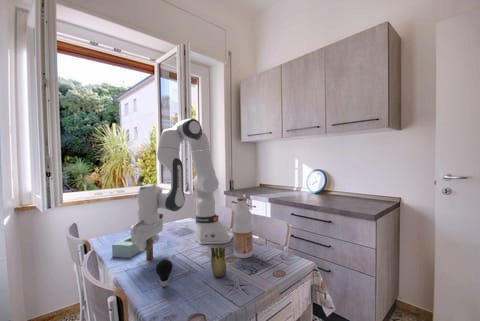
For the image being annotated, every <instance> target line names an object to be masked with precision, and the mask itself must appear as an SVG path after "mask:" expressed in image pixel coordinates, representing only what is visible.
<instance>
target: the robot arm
mask: <svg viewBox="0 0 480 321" xmlns="http://www.w3.org/2000/svg"><path fill="white" fill-rule="evenodd" d="M207 136H208V135H207V134H206V133H205V132H203V129H202V125H201V123H200V122H199V120H197V119H195V118H187V119H184V120H181V121H178V122H176V123H175V124H172V126H171V127H170V128H165V129H164V130H163V131H162V132H161V134H160V137H159V141H158V146H157V154H156V155H157V156H156V157H157V161H158V162H159V163H160V164H161V165H162V166H163V167H166V168H167V169H168V171H169V172H170V189H165V188H162V187H159V186H157V185H156V184H154V183H149V184H144V185H142V186H140V187H139V190H138V192H137V205H138V210H137V211H138V212H137V222H136V223H135V224H133V225H134V227H133V229H132V235H131V234H130V235H131V242H132V244H138V246H139V251H140V252H143V251H145V250H146V248H145V246H143V242H144V241H145V240H147V239H149V238H151V237H152V236H153V245H155V244H156V243H157V239H158V236H159V234H160V233H161V232H162V231H163V229H164V219H163V218H164V213H160V212H159V210H158V209H163V210H168V211H172V212H178V211H180V210H181V209H182V208H183V207H184V205H185V201H186V198H185V193H184V169H183V162H182V160H181V159H180V158H181V156H180V149H181V144H182V142H183V141H185V142H186V141H187V142H188V143H189V146H190V152H191V158H192V165H193V168H194V170H195V171H194V172H195V174H196V175H195V176H194V177H193V182H192V183H193V187H194V188H193V189H194V195H195V203H196V205H195V206H196V215H195V225H196V227H195V235H194V238H193V239H194V241H195V242H197V243H198V244H199V245H215V244H216V245H218V244H219V245H221V244H228V243H229V242H231V240H232V239H233V234H232V233H230V232H229V228H228V227H227V225H226V224H223V223H222V222H221V221H220V220H219V217H220V214H218V215H217V214H216V200H215V197H214V194H213V193H214V192H216V191H217V189H218V188H219V184H220V182H219V179H218V178H217V175H216V171H215V168H214V165H213V161H212V155H211V147H210V143H209V140H208V137H207Z"/></svg>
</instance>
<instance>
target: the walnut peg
mask: <svg viewBox="0 0 480 321" xmlns="http://www.w3.org/2000/svg"><path fill="white" fill-rule="evenodd" d="M145 250H146V251H145V252H146V254H145V256H146V257H145V258H146V260H148V261H149V260H150V261H151V260H153V258H154V244H153V237H151V238H149V239H147V240H146V248H145Z"/></svg>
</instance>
